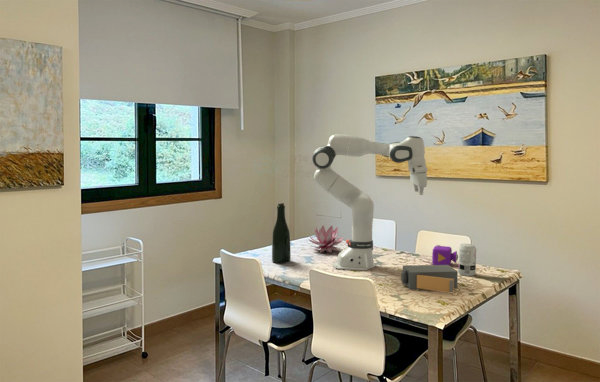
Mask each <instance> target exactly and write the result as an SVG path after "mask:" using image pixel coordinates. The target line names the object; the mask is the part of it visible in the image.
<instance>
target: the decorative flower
mask: <svg viewBox="0 0 600 382" xmlns="http://www.w3.org/2000/svg"><path fill="white" fill-rule="evenodd" d="M333 227H334V226H333V225H330V227H329V228H328V229H327V230H326V229H325V225H322V226H321V228H320V229H319V231H318V228H317V226H315V228H314V234H315V237H316V239H317V240H316V239H314V238H313V237H311V236H309V237H310V239H309V241H310V242H311V243H312V244H314V245H318V246H316V247H314V251H317V250H319V251H320V252H319V253H321V252H322V253H324V252H325V251H326V252H327V253H328V252H329V253H332V252H333V251H335V252H338V251H339V252H340V247H336V246H337V245H339V244H341V243H342V242H343V239H344V236H342V237H340V238H337V236H338V231H339V229H338V228H339V227H338V226H336V227H335V229H334V228H333ZM332 250H333V251H332Z"/></svg>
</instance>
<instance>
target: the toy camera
mask: <svg viewBox="0 0 600 382" xmlns="http://www.w3.org/2000/svg"><path fill="white" fill-rule="evenodd" d="M431 258H432V259H431V261H432V262H431V263H432V265H449V266H451V263H452V262H454V263H455V264H457V261H459V253H458V252H457V250H455V251H454V252H453V251H452V247H451V246H444V245H441V244H436V245H435V246H433V248H432V256H431Z"/></svg>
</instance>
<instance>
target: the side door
mask: <svg viewBox="0 0 600 382" xmlns="http://www.w3.org/2000/svg"><path fill="white" fill-rule="evenodd" d="M417 288H420V289H419V290H430V291H435V292H437V291H438V292H445V293H451V294H454V291H455V289H454V279H449V278H441V277H433V276H424V275H417Z"/></svg>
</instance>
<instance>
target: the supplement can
mask: <svg viewBox="0 0 600 382" xmlns="http://www.w3.org/2000/svg"><path fill="white" fill-rule="evenodd" d="M476 261H477V247H476V245H475V244H471V243H462V244H459V247H458V263H457V264H458V266H457V267H458V268H457V271H458V274H459V275H460V276H463V277H474V276H475V275H476V271H477V270H476V265H477V264H476V263H477V262H476Z"/></svg>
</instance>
